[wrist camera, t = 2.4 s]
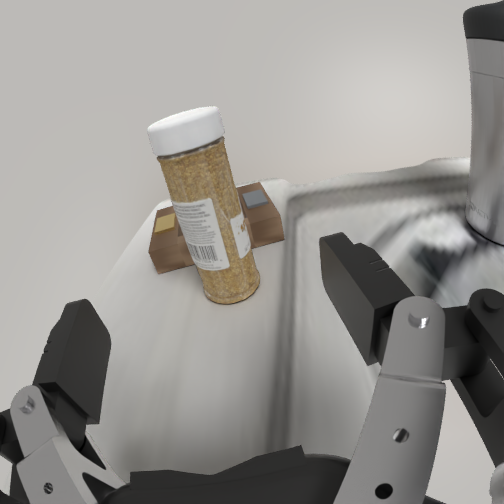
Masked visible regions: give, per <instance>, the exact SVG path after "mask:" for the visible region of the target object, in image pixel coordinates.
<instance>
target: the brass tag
mask: <svg viewBox="0 0 504 504" xmlns="http://www.w3.org/2000/svg"><path fill="white" fill-rule="evenodd" d="M175 221H176V214H175V213H173V214H170V215H166V216H163V217H160V218H157V222H156V227H155V232H154V233H155V235H158V234H161V233H165V232H168V231H171V230H175Z"/></svg>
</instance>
